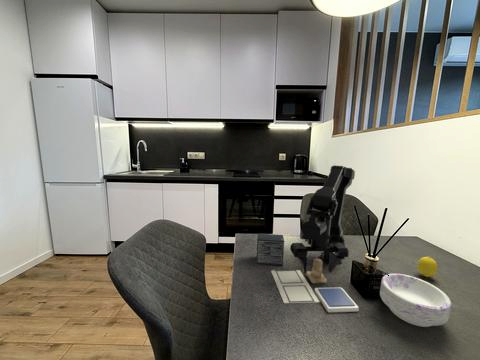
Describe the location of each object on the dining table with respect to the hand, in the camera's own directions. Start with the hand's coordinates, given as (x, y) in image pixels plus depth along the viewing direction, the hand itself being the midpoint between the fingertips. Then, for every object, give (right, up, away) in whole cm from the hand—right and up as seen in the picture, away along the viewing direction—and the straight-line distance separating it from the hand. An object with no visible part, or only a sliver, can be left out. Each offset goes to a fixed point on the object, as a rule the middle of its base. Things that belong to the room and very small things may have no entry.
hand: (316, 272), depth 76 cm
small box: (-15, -1, +12) cm, 19 cm away
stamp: (0, -3, 0) cm, 3 cm away
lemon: (+42, -4, +4) cm, 42 cm away
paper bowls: (+21, -6, -15) cm, 26 cm away
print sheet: (-9, -3, -3) cm, 10 cm away
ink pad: (+2, -4, -10) cm, 11 cm away
